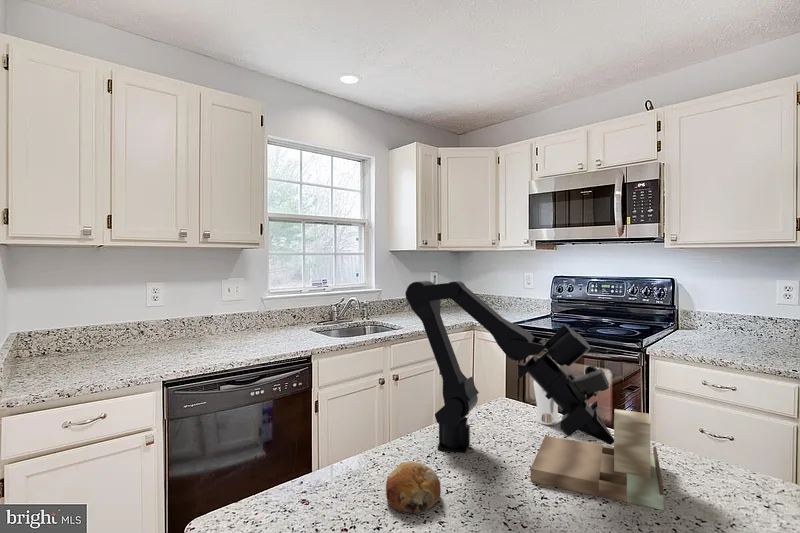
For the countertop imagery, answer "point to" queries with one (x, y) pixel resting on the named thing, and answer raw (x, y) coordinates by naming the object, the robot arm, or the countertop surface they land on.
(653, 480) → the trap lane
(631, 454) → the birch block
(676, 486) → the countertop surface
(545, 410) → the beer glass
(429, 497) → the bread roll
